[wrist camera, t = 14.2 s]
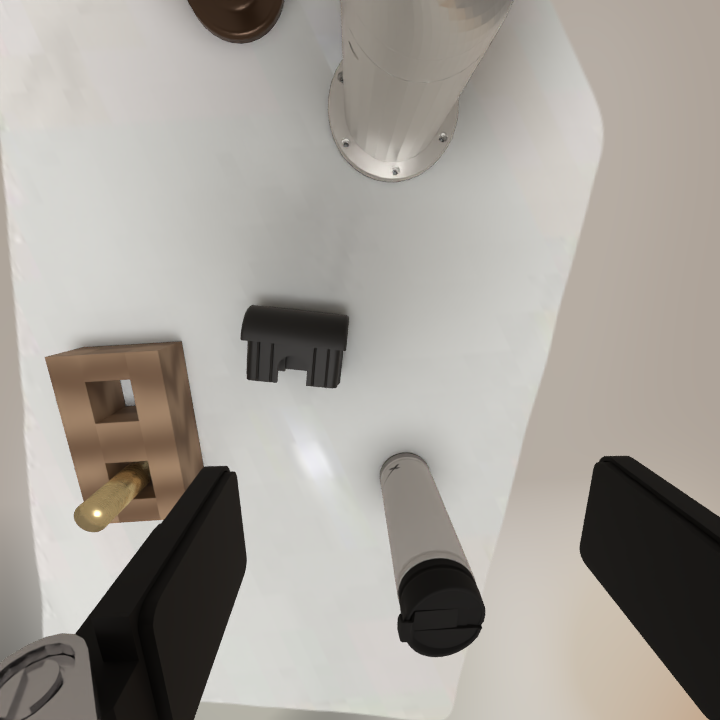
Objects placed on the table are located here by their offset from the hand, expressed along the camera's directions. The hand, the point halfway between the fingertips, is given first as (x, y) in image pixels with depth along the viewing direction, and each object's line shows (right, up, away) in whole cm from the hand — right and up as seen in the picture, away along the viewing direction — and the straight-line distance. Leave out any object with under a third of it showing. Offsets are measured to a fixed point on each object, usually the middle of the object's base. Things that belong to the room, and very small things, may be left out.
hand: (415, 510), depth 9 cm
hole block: (-26, -4, +32) cm, 42 cm away
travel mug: (+4, -10, +35) cm, 37 cm away
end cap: (-8, +6, +31) cm, 32 cm away
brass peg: (-26, -8, +33) cm, 43 cm away
